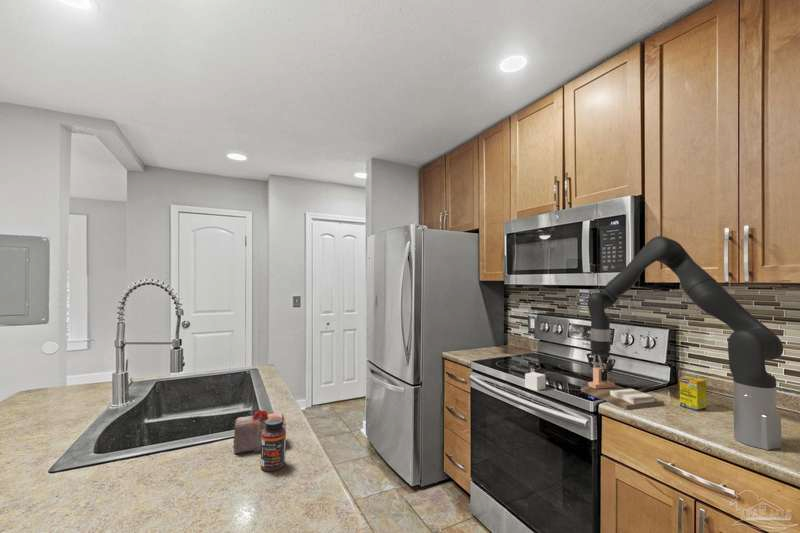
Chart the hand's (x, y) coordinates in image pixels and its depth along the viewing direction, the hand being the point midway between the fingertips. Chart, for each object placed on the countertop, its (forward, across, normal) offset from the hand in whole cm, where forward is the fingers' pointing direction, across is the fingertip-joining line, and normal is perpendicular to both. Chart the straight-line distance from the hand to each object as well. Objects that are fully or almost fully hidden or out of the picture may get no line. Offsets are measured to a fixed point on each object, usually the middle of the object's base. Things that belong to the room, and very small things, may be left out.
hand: (600, 379), depth 157 cm
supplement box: (+5, -26, -17) cm, 31 cm away
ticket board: (+5, -10, 0) cm, 11 cm away
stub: (+3, -1, 0) cm, 3 cm away
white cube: (+5, +10, +25) cm, 27 cm away
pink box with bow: (+5, -16, +135) cm, 136 cm away
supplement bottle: (+5, -29, +131) cm, 134 cm away
